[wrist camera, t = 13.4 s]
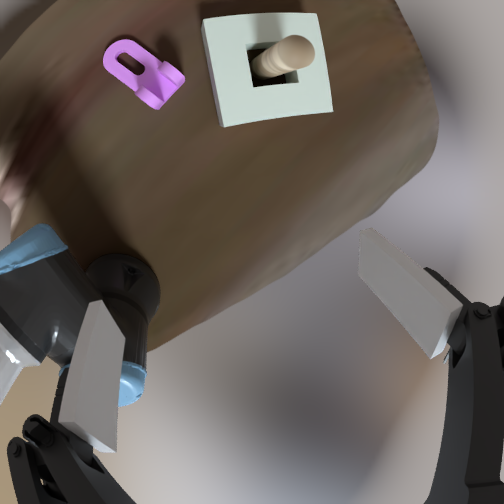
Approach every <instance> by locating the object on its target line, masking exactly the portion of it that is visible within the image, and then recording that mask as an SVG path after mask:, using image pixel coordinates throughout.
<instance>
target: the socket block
mask: <svg viewBox="0 0 504 504" xmlns="http://www.w3.org/2000/svg"><path fill="white" fill-rule="evenodd" d="M201 32H202V38H203V43H204V48H205V53H206V58H207V64H208V69H209V74H210V79H211V84H212V89H213V94H214V99H215V104H216V110H217V115H218V120H219V125H220V126H222V127H228V126H232V125H238V124H243V123H248V122H254V121H260V120H266V119H273V118H280V117H287V116H295V115H304V114H314V113H325V112H333V107H332V99H331V92H330V84H329V78H328V71H327V65H326V59H325V53H324V48H323V43H322V37H321V32H320V28H319V23H318V18H317V14H313V13H256V14H242V15H232V16H223V17H215V18H209V19H203V22H202V27H201ZM290 35H300V36H303V37H305V38H306V39H308V40H309V41H310V42H311V43H312V45H313V47H314V49H315V58H314V60H313V62H312V63H311V64H310V65H309V66H307V67H304V68H301V69H297V70H294V71H291V72H288V73H285V79H286V84H278V85H269V86H261V87H253V84H252V78H251V73H250V67H249V62H248V57H247V52H246V50H254V49H265V48H270V47H272V46H273V45H275V44H276V43H278V42H279V41H281V40H282V39H284V38H286V37H287V36H290Z"/></svg>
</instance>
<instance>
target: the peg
mask: <svg viewBox="0 0 504 504" xmlns="http://www.w3.org/2000/svg"><path fill="white" fill-rule="evenodd" d="M314 58H315V49H314V47H313V45H312V43H311V42H310V41H309V40H308V39H306V38H305V37H303V36H300V35H290V36H287V37H286V38H284V39H282V40H281V41H279V42H278V43H276V44H275V45H273V46H272V47H270V48H269V49H267V50H266V51H264V52H263V53H261V54H260V55H258V56H257V57H255V58H254V59H253V60H252V61H251V63H250V66H249V67H250V72H251V74H252V75H253V76H254V77H255V78H257V79H260V80H266V79H269V78H272V77H275V76H278V75H281V74H284V73H288V72H291V71H294V70H297V69H301V68H304V67H307V66H309V65H310V64H311V63H312V62H313V60H314Z"/></svg>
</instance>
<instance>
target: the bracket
mask: <svg viewBox="0 0 504 504" xmlns="http://www.w3.org/2000/svg"><path fill="white" fill-rule="evenodd" d="M123 52H126V53H128V54H129V55H130V56H132V57H133V58H135V59H136V60H137V61H139V62H140V63H141V64H143V65H144V66H145V71H144V73H143V74H141V75H135V74H133V73H132V72H131V71H129V70H128V69H127V68H125V67H124V66H123V65H121V64H120V63H119V62H118V61H117V57H118V55H119V54H120V53H123ZM103 64H104V67H105V68H106V70H107V71H109V72H110V73H111V74H113V75H114V76H115V77H117V78H118V79H119V80H121V81H122V82H123V83H125V84H126V85H127V86H129V87H130V88H131V89H132V90H134V91H135V95H137V96H138V97H139V98H140V99H141V100H143V101H144V102H145V103H147V104H148V105H149V106H151V107H152V108H154V109H157V110H159V109H160V108H161V107H162V105H163V104H164V103H165V102H166V101H167V100H168V99H169V98H170V97H171V96H172V95H173V94H174V93H175V91H176V90H177V89H178V88H179V87H180V86H181V85H182V84H183V83H184V82H185V77H184V76H183V74H181V73H180V72H179V71H178V70H177V69H176V68H175V67H173V66H172V65H171V64H169V63H168V62H166V61H164V62H163V63H162V62H161V61H159V60H158V59H157V58H156V57H154V56H153V55H152V54H150V53H149V52H148V51H146V50H145V49H143V48H142V47H141V46H139V45H138V44H137V43H135V42H134V41H132V40H127V39H125V40H119V41H117V42H115V43H113V44H112V45H111V46H109V48H108V49H107V50H106V52H105V54H104V57H103Z"/></svg>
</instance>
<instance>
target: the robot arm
mask: <svg viewBox="0 0 504 504" xmlns="http://www.w3.org/2000/svg"><path fill="white" fill-rule="evenodd" d="M358 275H359V277H360V278H361V279H362V280H363V281H364V282H365V283H366V284H367V286H368V287H369V288H370V289H371V290H372V291H373V292H374V293H375V294H376V296H377V297H378V298H379V299H380V300H381V301H382V302H383V303H384V305H385V306H386V307H387V308H388V309H389V310H390V311H391V313H392V314H393V315H394V316H395V317H396V318H397V320H398V321H399V322H400V323H401V324H402V325H403V327H404V328H405V329H406V330H407V331H408V333H409V334H410V335H411V336H412V337H413V339H414V340H415V341H416V342H417V343H418V345H419V346H420V347H421V348H422V350H423V351H424V352H425V353H426V355H427V356H428V357H429V358H430V359H432V358H433V357H435V356H436V355H438V354H439V353H441V352H442V351H443V349H444V347H445V345H446V343H448V344H449V345H450V346H451V347H450V349H449V351H448V353H447V355H446V357H445V358H444V362H443V363H446V361H447V359H448V358H449V373H448V391H447V404H446V414H445V422H444V429H443V436H442V442H441V448H440V453H439V458H438V463H437V467H436V472H435V476H434V479H433V483H432V487H431V491H430V494H429V496H428V498H427V500H426V501H425V503H424V504H504V483H503V482H502V481H501V480H500V470H501V462H502V453H503V442H504V297H503V298H502V300H501V303H500V305H497V306H493V307H489V306H488V305H486V304H484V303H481V302H474V303H471V302H470V301H469V300H468V299H467V298H466V297H464V296H463V295H462V294H461V293H460V292H459V291H458V290H457V289H456V288H455V287H453V286H452V285H450V284H449V282H448V281H447V280H444V278H443V277H442V276H441V275H440V274H439V273H437V272H436V271H434V270H432V269H430V268H428V267H426V268H422V267H420V266H419V265H418V264H417V263H416V262H415V261H413V260H412V259H411V258H409V256H407V255H406V254H405V253H404V252H402V251H401V250H400V249H399V248H397V247H396V246H395V245H394V244H392V243H391V242H390V241H388V240H387V239H386V238H385V237H383V236H382V235H381V234H380V233H378V232H377V231H376V230H374V229H373V228H369V229H365V230H362V231H360V245H359V263H358ZM159 303H160V285H159V282H158V279H157V277H156V276H155V274H154V273H153V271H152V270H151V269H150V268H149V267H148V266H147V265H146V264H144V263H143V262H142V261H140V260H138V259H136V258H134V257H131V256H128V255H124V254H108V255H104V256H102V257H99V258H98V259H96V260H95V261H93V262H92V263H91V264H90V266H89V267H88V269H87V270H86V272H84V271H83V269H82V268H81V267H80V265H79V264H78V262H77V261H76V260H75V258H74V257H73V255H72V254H71V253H70V251H69V250H68V246H67V245H65V244H64V243H63V242H62V240H61V239H60V238H59V237H58V235H57V234H56V233H55V231H54V230H53V228H52V227H51V226H49V225H47V224H44V223H41V224H37V225H35V226H34V227H32V228H31V229H29V230H28V231H27V232H25V233H24V234H22V235H21V236H20V237H18V238H17V239H16V240H14V241H13V242H12V243H10V244H9V245H8V246H7V247H5V248H4V249H3V250H1V251H0V405H1V403H2V401H3V400H4V398H5V396H6V395H7V393H8V391H9V389H10V388H11V386H12V384H13V383H14V381H15V379H16V378H17V376H18V375H19V373H20V372H21V370H22V368H24V367H26V366H39V365H40V364H41V363H42V361H43V360H44V358H45V357H46V356H47V355H48V356H49V357H50V358H51V359H53V360H54V361H55V362H56V363H57V364H58V365H59V366H60V367H61V370H60V371H59V381H58V385H57V388H58V389H56V394H55V395H56V397H55V398H54V403H53V408H52V413H51V418H50V423H49V422H48V421H47V420H45V419H44V418H43V417H41V416H40V415H38V414H34V415H31V416H30V417H28V418H27V420H26V421H25V423H24V425H23V430H22V433H23V437H24V438H25V439H26V440H28V441H29V442H26V441H24V440H23V439H21V438H19V437H14V438H13V439H12V440H10V442H9V444H8V447H7V456H8V462H9V467H10V472H11V477H12V481H13V485H14V490H15V493H16V497H17V501H18V504H136V503H135V502H134V501H133V500H132V499H131V497H130V496H129V495H128V494H127V493H126V492H125V491H124V490H123V489H122V487H121V486H120V485H119V484H118V483H117V482H116V480H115V479H114V478H113V477H112V476H111V475H110V473H109V472H108V471H107V469H106V468H105V467H104V465H103V464H102V463H101V462H100V460H99V459H98V457H97V456H96V455H94V454H93V447H94V448H95V449H97V450H98V451H100V452H116V450H117V449H116V448H117V446H116V445H117V417H118V407H121V406H126V405H129V404H131V403H133V402H135V401H137V400H138V399H139V398H140V397H141V395H142V393H143V390H144V383H145V377H146V376H147V372H146V353H147V332H148V325H149V323H150V321H151V319H152V318H153V316H154V315H155V313H156V312H157V310H158V307H159ZM40 479H42V480H43V485H42V483H41V480H40Z"/></svg>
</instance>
